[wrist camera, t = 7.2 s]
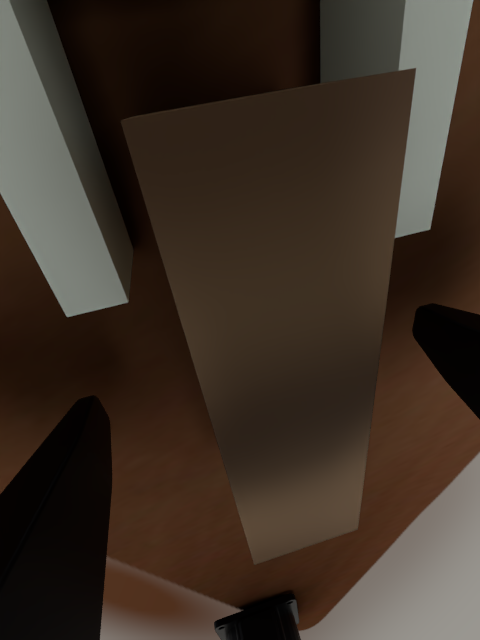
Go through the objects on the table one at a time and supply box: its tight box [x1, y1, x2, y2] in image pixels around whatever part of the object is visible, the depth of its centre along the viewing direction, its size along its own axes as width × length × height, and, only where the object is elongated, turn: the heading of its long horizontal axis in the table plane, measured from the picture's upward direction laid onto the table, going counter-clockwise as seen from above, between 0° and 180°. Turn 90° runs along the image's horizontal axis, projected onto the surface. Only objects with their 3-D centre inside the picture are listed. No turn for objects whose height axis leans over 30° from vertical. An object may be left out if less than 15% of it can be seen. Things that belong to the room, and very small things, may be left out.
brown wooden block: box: [120, 68, 416, 565], centre depth 9 cm, size 12×4×5 cm, turn 9°
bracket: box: [0, 0, 473, 317], centre depth 6 cm, size 6×8×3 cm
